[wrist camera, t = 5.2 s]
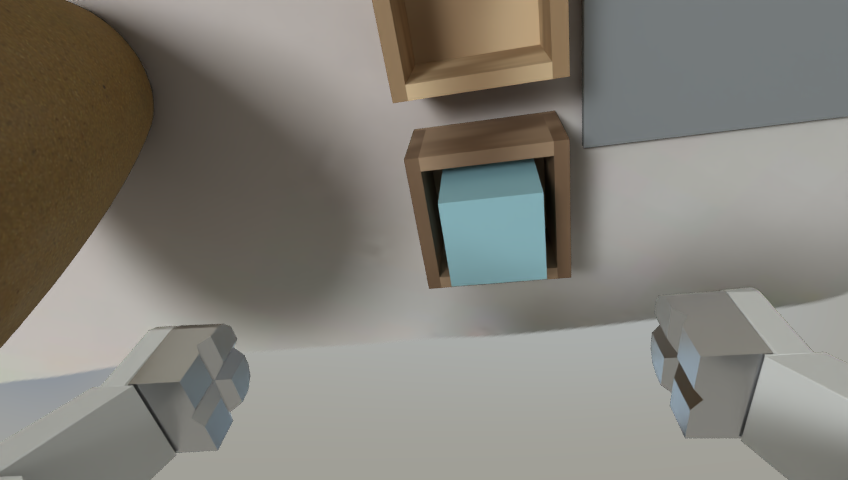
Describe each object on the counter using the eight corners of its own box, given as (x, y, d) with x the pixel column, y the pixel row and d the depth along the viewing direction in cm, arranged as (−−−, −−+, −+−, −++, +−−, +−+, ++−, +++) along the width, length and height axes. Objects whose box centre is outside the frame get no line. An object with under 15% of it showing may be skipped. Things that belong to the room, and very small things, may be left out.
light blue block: (528, 142, 23) (543, 192, 18) (532, 216, 25) (547, 279, 20) (444, 152, 23) (437, 203, 19) (455, 224, 25) (451, 286, 21)
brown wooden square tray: (553, 109, 22) (569, 139, 19) (557, 231, 26) (571, 277, 22) (414, 127, 23) (404, 159, 20) (435, 243, 27) (429, 288, 23)
